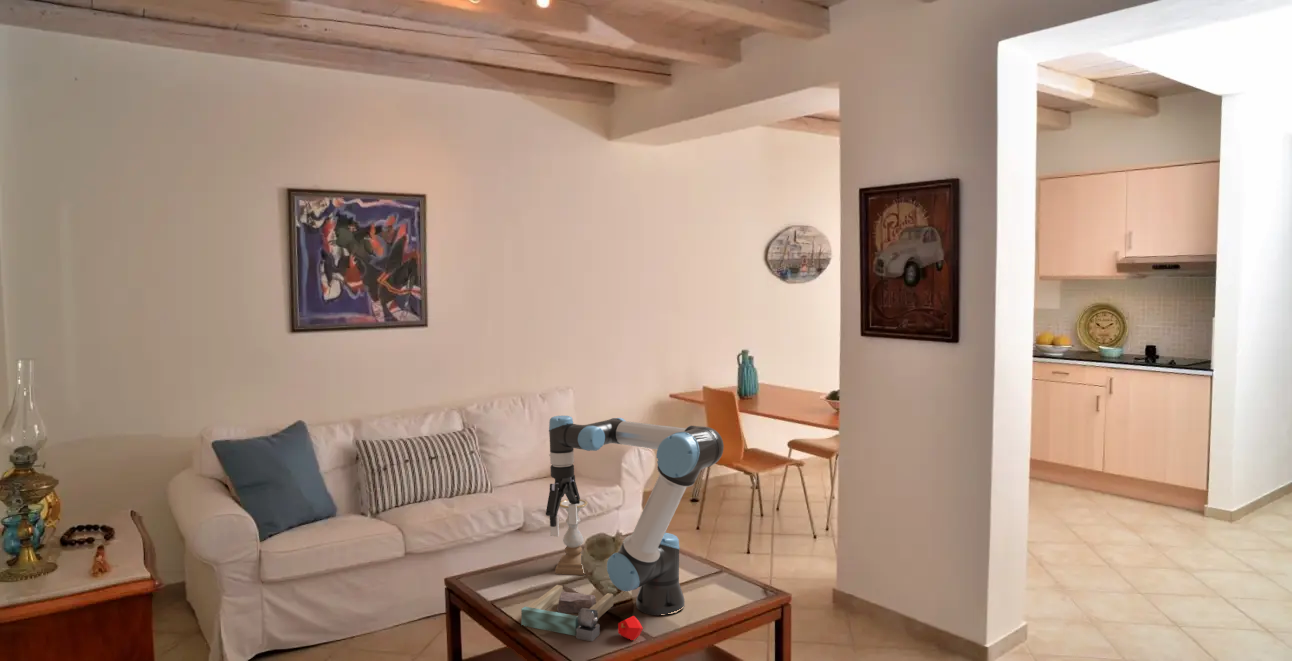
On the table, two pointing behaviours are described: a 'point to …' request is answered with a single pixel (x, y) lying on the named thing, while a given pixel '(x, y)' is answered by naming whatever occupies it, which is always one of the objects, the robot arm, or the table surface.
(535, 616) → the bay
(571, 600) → the stone
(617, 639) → the table surface
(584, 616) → the winch
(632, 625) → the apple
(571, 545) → the candle holder
